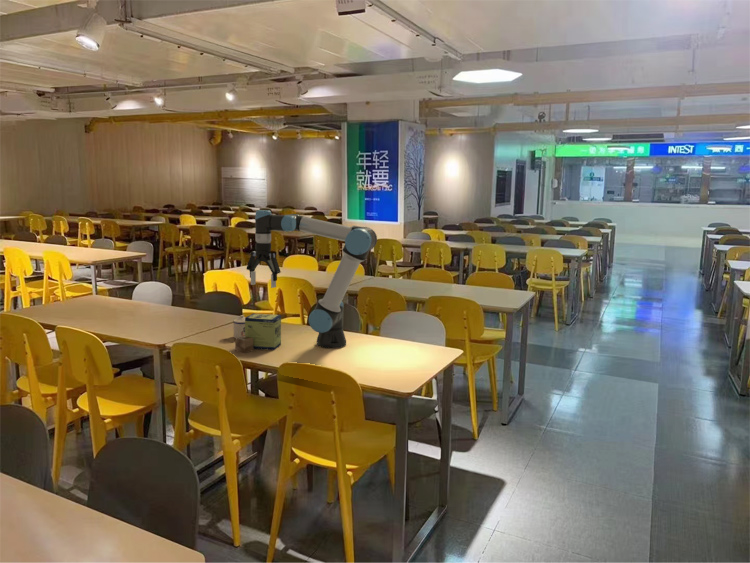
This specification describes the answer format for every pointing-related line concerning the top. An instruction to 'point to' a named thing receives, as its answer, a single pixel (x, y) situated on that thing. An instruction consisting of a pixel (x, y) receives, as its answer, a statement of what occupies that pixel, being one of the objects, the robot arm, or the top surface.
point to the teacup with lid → (239, 327)
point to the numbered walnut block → (244, 344)
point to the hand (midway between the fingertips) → (263, 286)
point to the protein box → (264, 330)
